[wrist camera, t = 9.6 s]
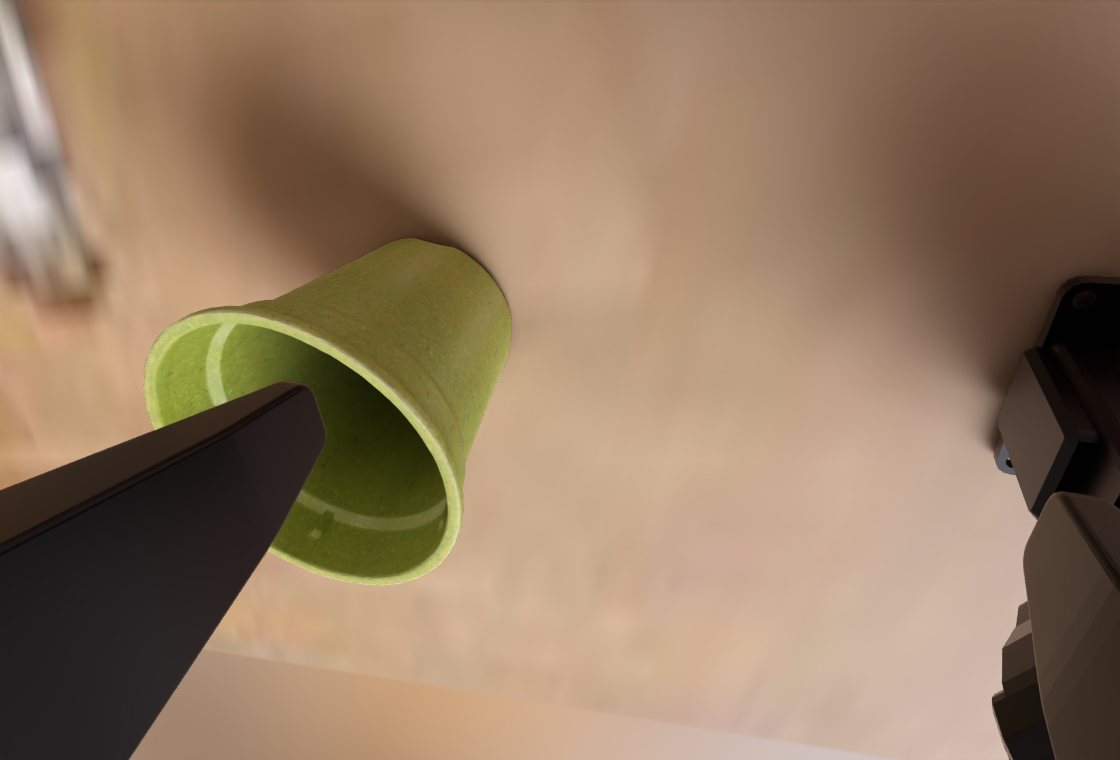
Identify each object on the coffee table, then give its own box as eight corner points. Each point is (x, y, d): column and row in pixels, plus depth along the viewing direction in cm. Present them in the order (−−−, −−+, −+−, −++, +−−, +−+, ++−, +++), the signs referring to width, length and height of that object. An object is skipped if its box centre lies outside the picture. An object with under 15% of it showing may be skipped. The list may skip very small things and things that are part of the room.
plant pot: (612, 354, 23) (530, 537, 16) (443, 448, 28) (328, 615, 22) (431, 130, 21) (245, 236, 14) (282, 279, 26) (94, 408, 19)
